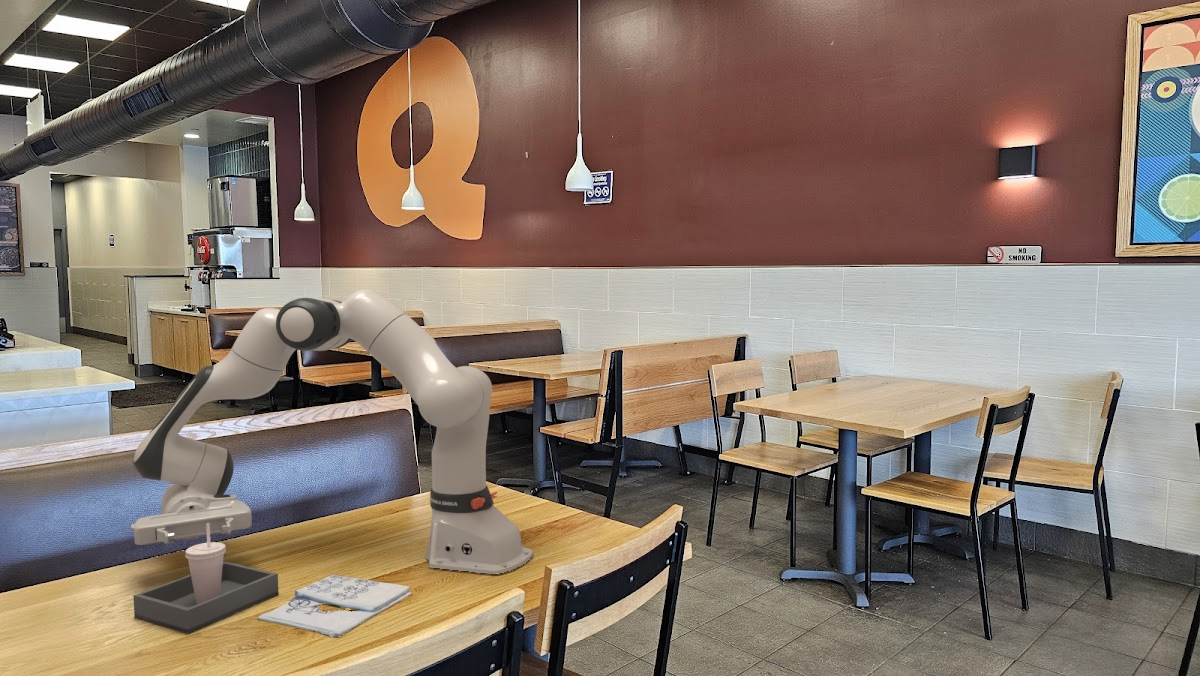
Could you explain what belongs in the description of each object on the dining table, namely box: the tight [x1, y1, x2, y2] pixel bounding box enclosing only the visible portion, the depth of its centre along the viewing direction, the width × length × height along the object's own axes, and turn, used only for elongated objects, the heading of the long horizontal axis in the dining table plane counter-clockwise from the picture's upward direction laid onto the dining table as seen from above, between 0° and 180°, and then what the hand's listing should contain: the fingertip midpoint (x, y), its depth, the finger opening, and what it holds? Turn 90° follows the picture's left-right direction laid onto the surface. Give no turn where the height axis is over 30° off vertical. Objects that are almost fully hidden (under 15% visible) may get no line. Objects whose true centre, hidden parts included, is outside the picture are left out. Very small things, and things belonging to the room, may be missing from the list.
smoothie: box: [185, 523, 227, 604], centre depth 138 cm, size 6×6×14 cm
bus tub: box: [132, 561, 280, 635], centre depth 139 cm, size 14×18×4 cm
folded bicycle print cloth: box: [257, 574, 413, 638], centre depth 139 cm, size 19×20×2 cm
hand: (198, 534), depth 146 cm, fingers open, 8 cm apart
